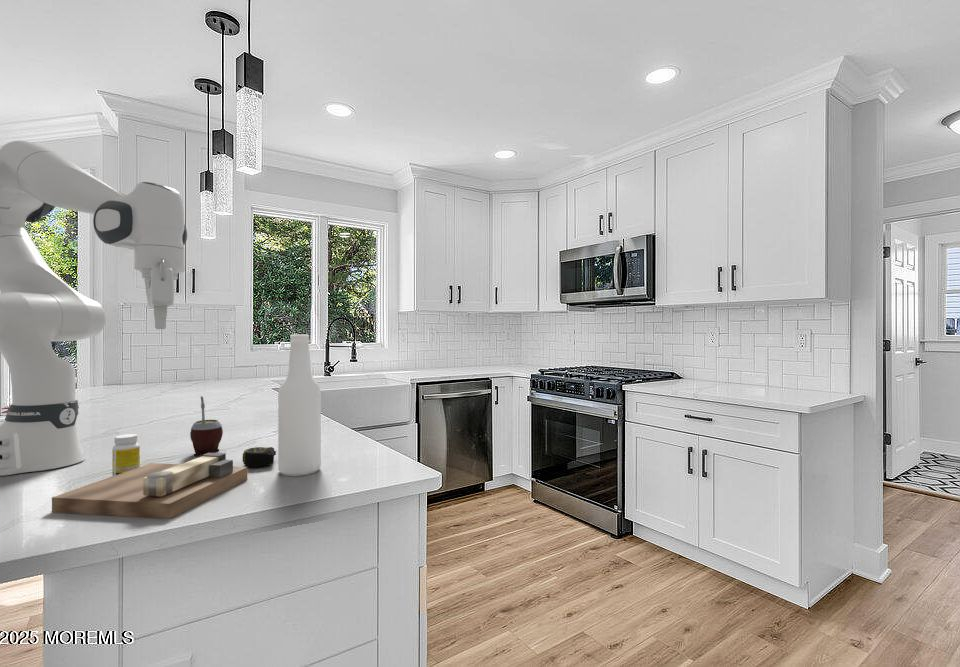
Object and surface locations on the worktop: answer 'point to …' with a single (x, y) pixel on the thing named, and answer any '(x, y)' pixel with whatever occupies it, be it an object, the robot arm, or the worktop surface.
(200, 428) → the mate gourd
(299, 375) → the alcohol
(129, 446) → the supplement bottle
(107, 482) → the wooden cutting board
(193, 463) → the folding leg
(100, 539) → the worktop surface
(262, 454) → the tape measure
